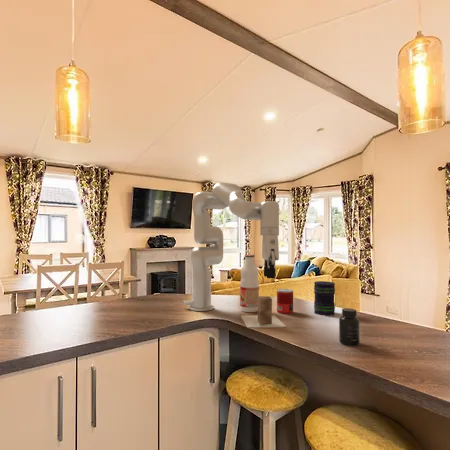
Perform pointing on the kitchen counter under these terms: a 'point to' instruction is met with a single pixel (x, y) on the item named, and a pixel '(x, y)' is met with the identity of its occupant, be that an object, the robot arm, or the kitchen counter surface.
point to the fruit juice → (249, 286)
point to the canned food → (285, 301)
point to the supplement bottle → (349, 328)
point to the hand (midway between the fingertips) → (269, 276)
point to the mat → (253, 323)
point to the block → (264, 311)
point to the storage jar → (324, 298)
